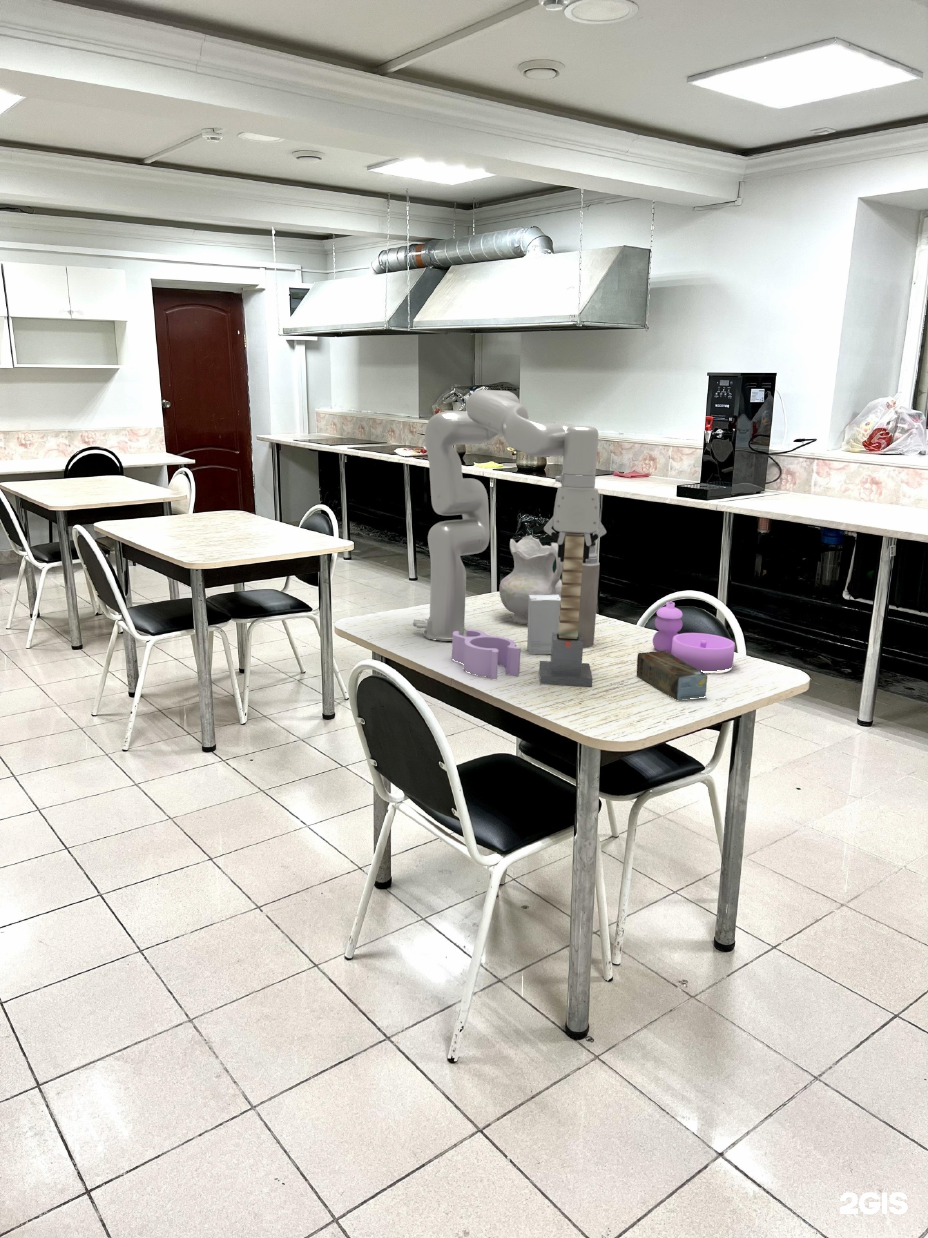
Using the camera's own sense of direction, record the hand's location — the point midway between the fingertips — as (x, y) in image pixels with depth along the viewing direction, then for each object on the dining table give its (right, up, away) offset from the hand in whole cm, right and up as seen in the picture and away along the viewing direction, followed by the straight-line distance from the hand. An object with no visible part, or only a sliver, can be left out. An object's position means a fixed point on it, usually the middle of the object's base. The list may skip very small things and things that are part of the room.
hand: (572, 560), depth 210 cm
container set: (+33, -24, +26) cm, 49 cm away
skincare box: (-5, -22, +28) cm, 36 cm away
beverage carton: (+23, -30, +3) cm, 38 cm away
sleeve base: (-1, -27, +7) cm, 28 cm away
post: (-1, -18, +4) cm, 18 cm away
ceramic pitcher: (-4, -14, +59) cm, 61 cm away
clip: (-20, -25, +13) cm, 35 cm away
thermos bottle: (+6, -20, +37) cm, 42 cm away
